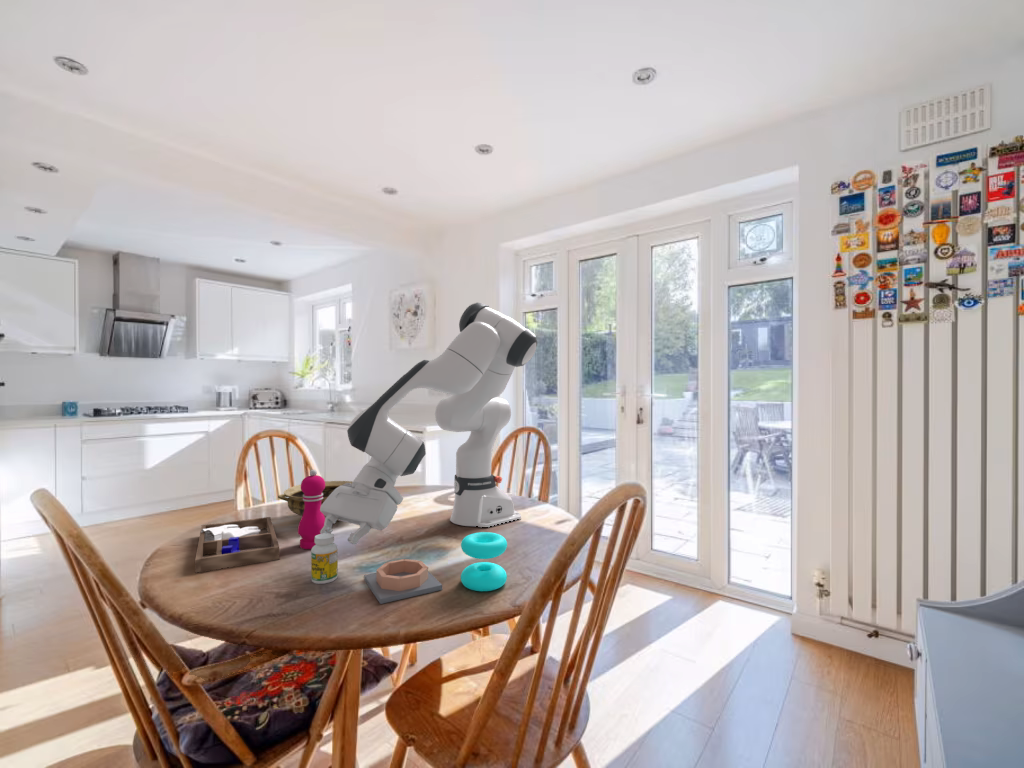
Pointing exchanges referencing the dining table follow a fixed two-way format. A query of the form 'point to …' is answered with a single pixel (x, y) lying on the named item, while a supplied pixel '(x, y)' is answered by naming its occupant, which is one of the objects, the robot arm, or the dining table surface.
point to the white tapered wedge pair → (228, 532)
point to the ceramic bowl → (296, 494)
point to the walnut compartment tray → (244, 543)
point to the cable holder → (231, 546)
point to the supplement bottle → (324, 559)
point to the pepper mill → (311, 510)
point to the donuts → (483, 573)
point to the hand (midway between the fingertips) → (337, 538)
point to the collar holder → (401, 580)
